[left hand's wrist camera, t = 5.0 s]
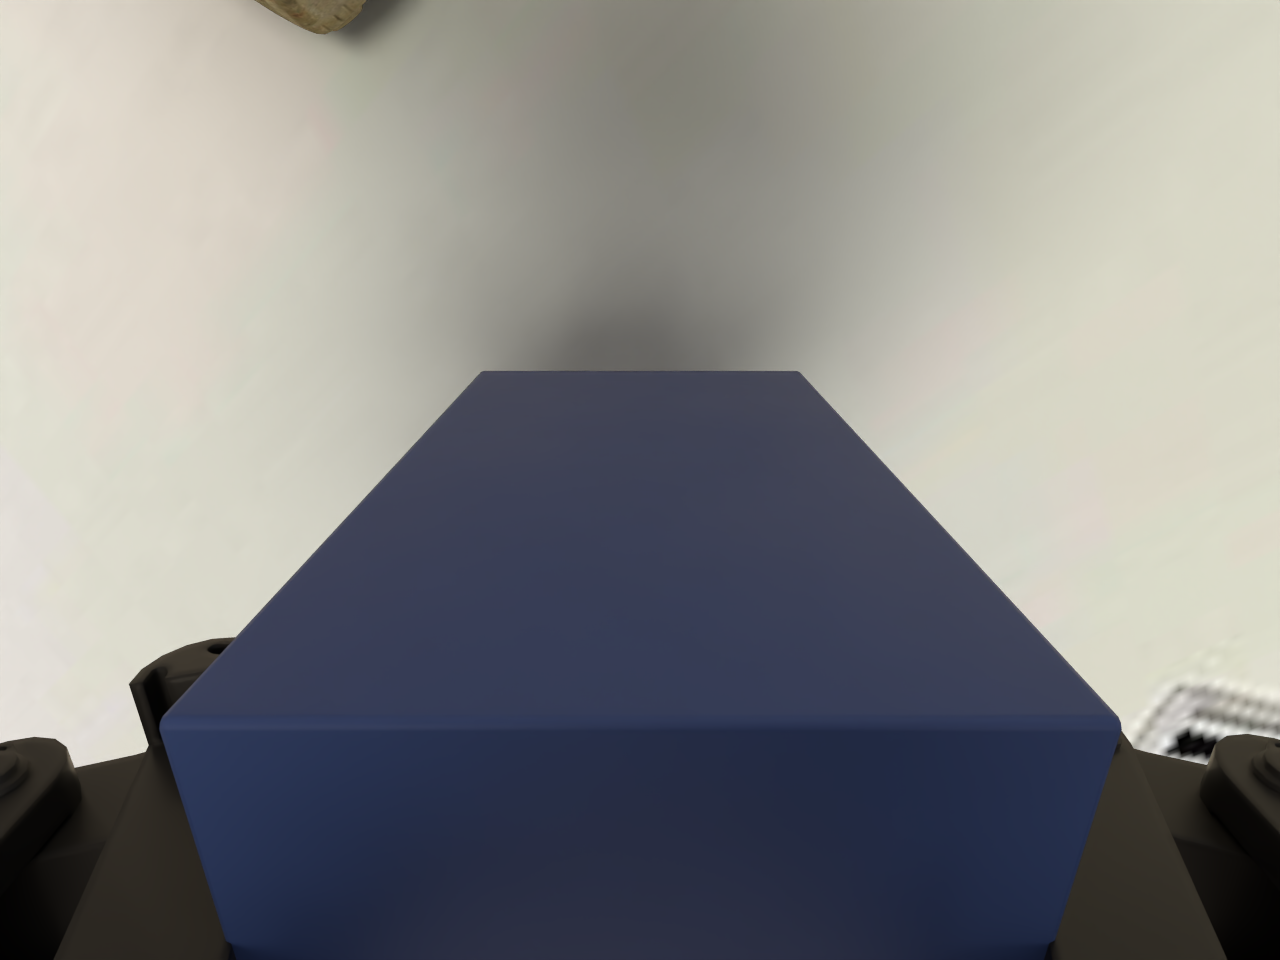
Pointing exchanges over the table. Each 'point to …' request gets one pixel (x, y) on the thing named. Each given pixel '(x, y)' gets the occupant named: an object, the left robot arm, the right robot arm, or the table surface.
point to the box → (640, 703)
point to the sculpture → (316, 13)
